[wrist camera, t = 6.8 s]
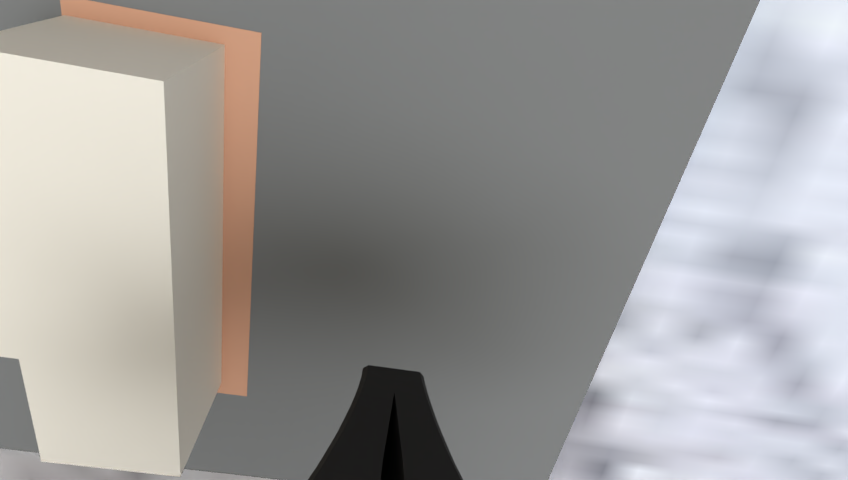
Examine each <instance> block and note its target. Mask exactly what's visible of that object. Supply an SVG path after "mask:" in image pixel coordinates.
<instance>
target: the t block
mask: <svg viewBox="0 0 848 480" xmlns="http://www.w3.org/2000/svg"><path fill="white" fill-rule="evenodd" d="M224 72H225V45H224V44H218V43H213V42H208V41H202V40H197V39H191V38H186V37H181V36H175V35H170V34H164V33H159V32H154V31H148V30H143V29H137V28H132V27H127V26H121V25H116V24H110V23H105V22H100V21H94V20H89V19H83V18H78V17H73V16H67V15H63V16H59V17H55V18H51V19H46V20H42V21H38V22H34V23H30V24H26V25H22V26H18V27H14V28H10V29H6V30H2V31H0V357H7V358H15V359H19V363H20V367H21V372H22V376H23V381H24V385H25V390H26V394H27V399H28V403H29V408H30V412H31V417H32V421H33V426H34V431H35V435H36V440H37V444H38V449H39V453H40V458H41V462H50V463H59V464H68V465H77V466H86V467H95V468H104V469H113V470H122V471H131V472H140V473H149V474H158V475H167V476H177V477H181V474H182V472H183V470H184V467H185V465H186V463H187V461H188V458H189V456H190V454H191V451H192V449H193V447H194V444H195V442H196V440H197V438H198V435H199V433H200V431H201V428H202V426H203V424H204V421H205V419H206V417H207V414H208V412H209V410H210V408H211V405H212V403H213V401H214V398H215V396H216V394H217V391H218V389H219V387H220V385H221V367H222V269H223V170H224Z"/></svg>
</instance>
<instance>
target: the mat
mask: <svg viewBox="0 0 848 480" xmlns="http://www.w3.org/2000/svg"><path fill="white" fill-rule="evenodd" d="M759 1H760V0H0V31H2V30H6V29H10V28H14V27H18V26H22V25H26V24H30V23H34V22H38V21H42V20H46V19H51V18H55V17H59V16H63V15H67V16H73V17H78V18H83V19H89V20H94V21H100V22H105V23H110V24H116V25H121V26H127V27H132V28H137V29H143V30H148V31H154V32H159V33H164V34H170V35H175V36H181V37H186V38H191V39H197V40H202V41H208V42H213V43H218V44H224V45H225V72H224V170H223V269H222V367H221V385H220V387H219V389H218V391H217V394H216V396H215V398H214V401H213V403H212V405H211V408H210V410H209V412H208V414H207V417H206V419H205V421H204V424H203V426H202V428H201V431H200V433H199V435H198V438H197V440H196V442H195V444H194V447H193V449H192V451H191V454H190V456H189V458H188V461H187V463H186V465H185V467H184V469H190V470H199V471H208V472H217V473H226V474H235V475H244V476H252V477H261V478H270V479H279V480H308V479H309V477H310V476H311V474H312V473H313V471H314V470H315V468H316V467H317V465H318V464H319V462H320V461H321V459H322V457H323V456H324V454H325V452H326V451H327V449H328V447H329V446H330V444H331V442H332V441H333V439H334V437H335V435H336V434H337V432H338V430H339V428H340V426H341V424H342V422H343V420H344V418H345V416H346V414H347V412H348V410H349V408H350V406H351V404H352V401H353V399H354V397H355V394H356V392H357V389H358V386H359V383H360V379H361V376H362V370H363V368H364V367H366V366H368V365H372V366H379V367H387V368H394V369H402V370H409V371H417V372H420V373H421V374H422V375H423V376H424V381H425V385H426V389H427V392H428V396H429V399H430V402H431V405H432V408H433V411H434V414H435V417H436V419H437V422H438V425H439V427H440V430H441V432H442V434H443V437H444V439H445V442H446V444H447V446H448V449H449V451H450V453H451V456H452V458H453V460H454V462H455V464H456V466H457V468H458V470H459V472H460V474H461V476H462V478H463V480H548V478H549V476H550V474H551V472H552V469H553V467H554V465H555V463H556V460H557V458H558V456H559V453H560V451H561V449H562V447H563V444H564V442H565V440H566V438H567V435H568V433H569V431H570V429H571V426H572V424H573V422H574V420H575V417H576V415H577V413H578V411H579V408H580V406H581V404H582V401H583V399H584V397H585V395H586V392H587V390H588V388H589V386H590V383H591V381H592V379H593V377H594V374H595V372H596V370H597V368H598V365H599V363H600V361H601V358H602V356H603V354H604V352H605V349H606V347H607V345H608V343H609V340H610V338H611V336H612V334H613V331H614V329H615V327H616V325H617V322H618V320H619V318H620V315H621V313H622V311H623V309H624V306H625V304H626V302H627V300H628V297H629V295H630V293H631V291H632V288H633V286H634V284H635V282H636V279H637V277H638V275H639V273H640V270H641V268H642V266H643V263H644V261H645V259H646V257H647V254H648V252H649V250H650V248H651V245H652V243H653V241H654V239H655V236H656V234H657V232H658V230H659V227H660V225H661V223H662V220H663V218H664V216H665V214H666V211H667V209H668V207H669V205H670V202H671V200H672V198H673V196H674V193H675V191H676V189H677V187H678V184H679V182H680V180H681V177H682V175H683V173H684V171H685V168H686V166H687V164H688V162H689V159H690V157H691V155H692V153H693V150H694V148H695V146H696V144H697V141H698V139H699V137H700V135H701V132H702V130H703V128H704V125H705V123H706V121H707V119H708V116H709V114H710V112H711V110H712V107H713V105H714V103H715V101H716V98H717V96H718V94H719V92H720V89H721V87H722V85H723V82H724V80H725V78H726V76H727V73H728V71H729V69H730V67H731V64H732V62H733V60H734V58H735V55H736V53H737V51H738V49H739V46H740V44H741V42H742V39H743V37H744V35H745V33H746V30H747V28H748V26H749V24H750V21H751V19H752V17H753V15H754V12H755V10H756V8H757V6H758V3H759ZM0 448H2V449H11V450H20V451H29V452H38V453H39V449H38V444H37V440H36V435H35V431H34V426H33V421H32V417H31V412H30V408H29V403H28V399H27V394H26V390H25V385H24V381H23V376H22V372H21V367H20V363H19V359H15V358H7V357H0Z"/></svg>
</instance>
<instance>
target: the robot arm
mask: <svg viewBox="0 0 848 480" xmlns="http://www.w3.org/2000/svg"><path fill="white" fill-rule="evenodd" d="M308 480H463V478H462V476H461V474H460V472H459V470H458V468H457V466H456V464H455V462H454V460H453V458H452V456H451V453H450V451H449V449H448V446H447V444H446V442H445V439H444V437H443V434H442V432H441V430H440V427H439V425H438V422H437V419H436V417H435V414H434V411H433V408H432V405H431V402H430V399H429V396H428V392H427V389H426V385H425V381H424V376H423V375H422V374H421V373H420V372H417V371H409V370H402V369H394V368H387V367H379V366H372V365H368V366H366V367H364V368H363V370H362V376H361V379H360V383H359V386H358V389H357V392H356V394H355V397H354V399H353V401H352V404H351V406H350V408H349V410H348V412H347V414H346V416H345V418H344V420H343V422H342V424H341V426H340V428H339V430H338V432H337V434H336V435H335V437H334V439H333V441H332V442H331V444H330V446H329V447H328V449H327V451H326V452H325V454H324V456H323V457H322V459H321V461H320V462H319V464H318V465H317V467H316V468H315V470H314V471H313V473H312V474H311V476H310V477H309V479H308Z"/></svg>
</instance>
